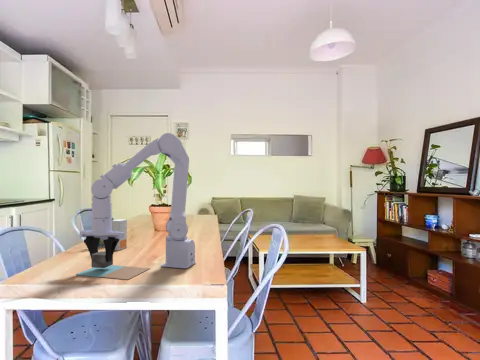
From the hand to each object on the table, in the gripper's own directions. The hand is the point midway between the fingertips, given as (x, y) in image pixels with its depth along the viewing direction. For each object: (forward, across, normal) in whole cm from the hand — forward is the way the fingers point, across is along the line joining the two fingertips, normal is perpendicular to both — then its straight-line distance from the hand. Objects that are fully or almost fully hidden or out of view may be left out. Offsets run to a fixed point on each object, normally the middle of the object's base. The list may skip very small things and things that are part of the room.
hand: (101, 260), depth 104 cm
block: (+2, 0, 0) cm, 2 cm away
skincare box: (+3, +13, -30) cm, 33 cm away
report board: (+3, -4, 0) cm, 6 cm away
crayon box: (+3, +21, -34) cm, 41 cm away
